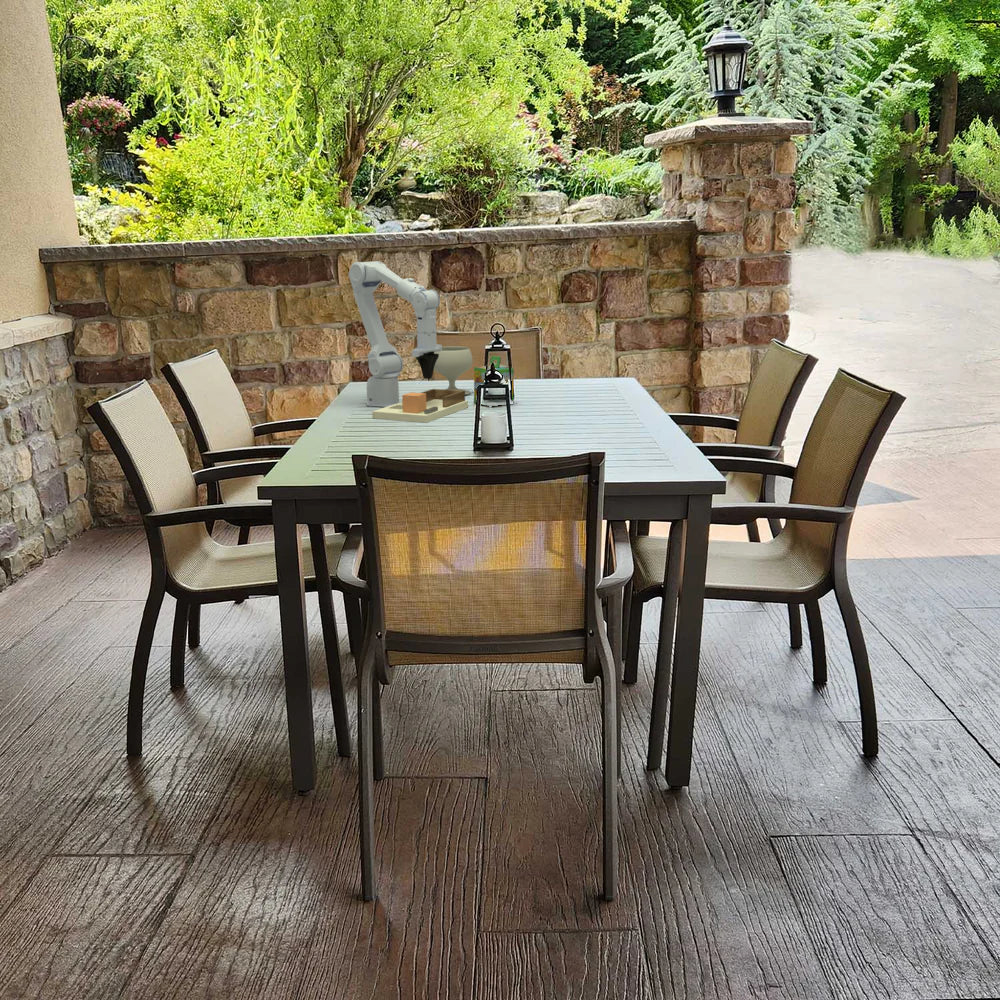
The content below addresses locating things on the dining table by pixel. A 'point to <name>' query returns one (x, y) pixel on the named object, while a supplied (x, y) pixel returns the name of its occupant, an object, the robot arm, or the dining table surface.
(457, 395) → the cubby
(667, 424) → the dining table surface
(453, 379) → the chalice
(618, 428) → the dining table surface
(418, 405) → the cube
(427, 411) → the short rod
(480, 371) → the chalk box
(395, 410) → the deck
